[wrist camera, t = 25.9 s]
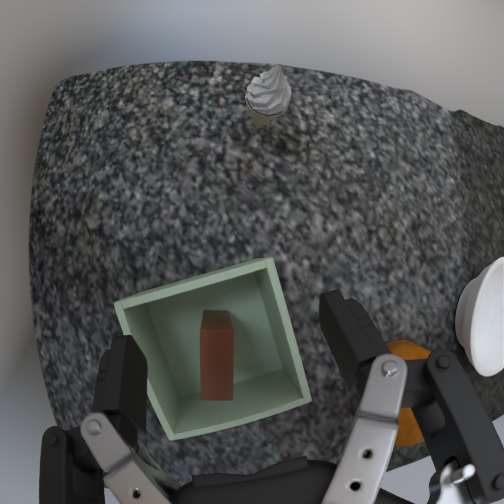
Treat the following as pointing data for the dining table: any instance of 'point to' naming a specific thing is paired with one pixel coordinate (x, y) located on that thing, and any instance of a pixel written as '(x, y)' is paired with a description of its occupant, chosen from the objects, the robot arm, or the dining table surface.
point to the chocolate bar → (216, 356)
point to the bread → (407, 422)
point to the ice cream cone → (268, 96)
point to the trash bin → (245, 348)
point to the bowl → (483, 319)
